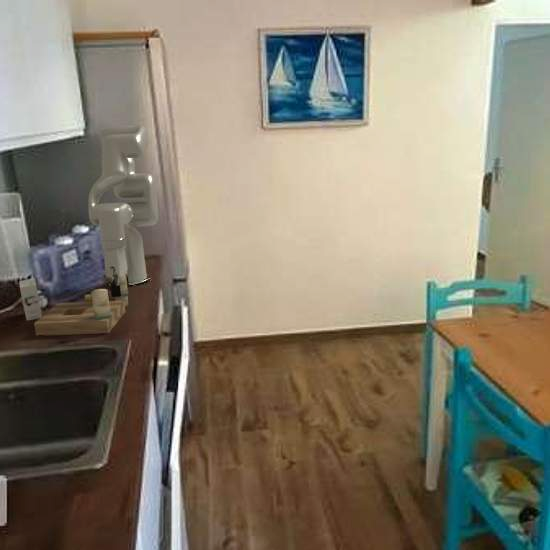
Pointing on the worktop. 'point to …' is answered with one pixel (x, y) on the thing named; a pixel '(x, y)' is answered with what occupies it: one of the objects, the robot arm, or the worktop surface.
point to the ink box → (30, 299)
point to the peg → (123, 290)
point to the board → (82, 316)
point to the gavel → (88, 297)
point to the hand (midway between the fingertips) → (120, 291)
